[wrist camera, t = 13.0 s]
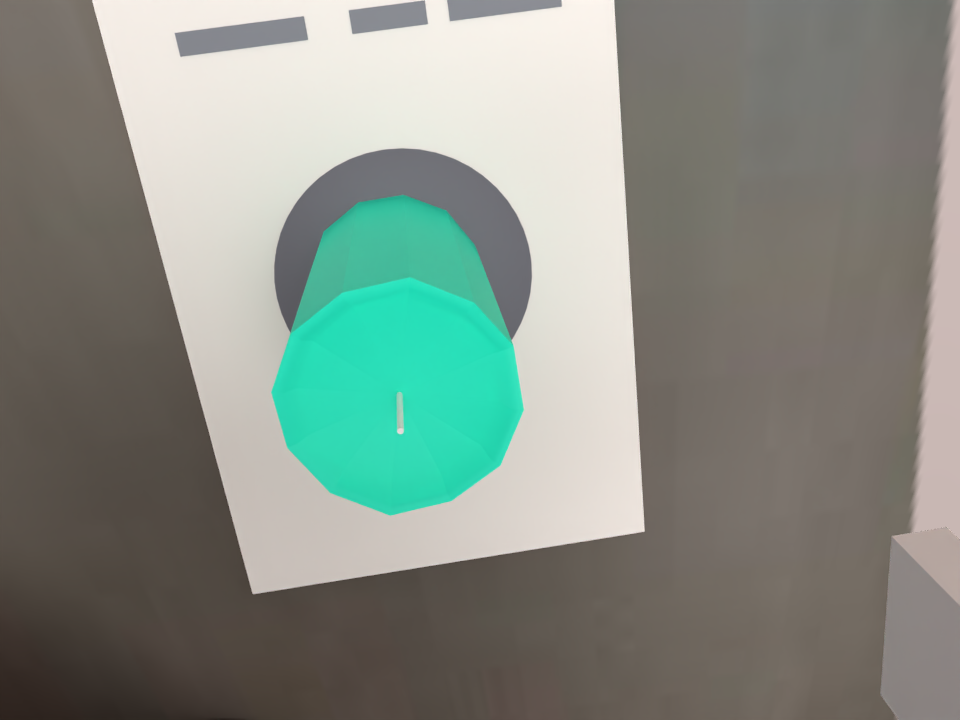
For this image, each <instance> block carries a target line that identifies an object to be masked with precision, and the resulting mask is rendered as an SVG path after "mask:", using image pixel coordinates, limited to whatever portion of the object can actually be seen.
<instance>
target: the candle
mask: <svg viewBox="0 0 960 720" xmlns="http://www.w3.org/2000/svg"><path fill="white" fill-rule="evenodd" d="M271 394H272V397H273V401H274V404H275V407H276V411H277V414H278V418H279V421H280V425H281V428H282V432H283V435H284V439H285V442H286V446H287V448H288V449H289V450H290V451H291V452H292V454H293V455H294V456H295V457H296V458H297V459H298V460H299V461H300V462H301V463H302V464H303V465H304V466H305V467H306V468H307V469H308V470H309V471H310V472H311V473H312V474H313V476H314V477H315V478H316V479H317V480H318V481H319V482H320V483H321V484H322V485H323V486H324V487H325V488H326V489H327V490H328V491H329V492H330V493H331V494H334V495H336V496H339V497H342V498H344V499H347V500H350V501H352V502H355V503H358V504H360V505H363V506H366V507H368V508H371V509H374V510H376V511H379V512H382V513H384V514H387V515H389V516H391V515H396V514H400V513H404V512H408V511H412V510H417V509H421V508H425V507H429V506H433V505H437V504H442V503H446V502H450V501H452V500H454V499H455V498H457V497H458V496H459V495H461V494H462V493H464V492H465V491H466V490H468V489H469V488H470V487H472V486H473V485H475V484H476V483H477V482H479V481H480V480H482V479H483V478H484V477H486V476H487V475H488V474H490V473H491V472H493V471H494V470H495V469H497V468H498V467H499V466H501V463H502V461H503V459H504V456H505V454H506V452H507V449H508V447H509V444H510V442H511V440H512V437H513V435H514V433H515V430H516V428H517V426H518V423H519V421H520V418H521V416H522V414H523V411H524V407H523V401H522V394H521V388H520V382H519V376H518V370H517V364H516V357H515V351H514V346H513V343H512V340H511V338H510V335H509V333H508V330H507V327H506V325H505V322H504V320H503V317H502V314H501V312H500V309H499V307H498V304H497V301H496V299H495V296H494V293H493V291H492V288H491V286H490V283H489V280H488V278H487V275H486V273H485V270H484V267H483V265H482V262H481V260H480V257H479V254H478V252H477V249H476V247H475V244H474V243H473V242H472V241H471V240H470V238H469V237H468V236H467V235H466V234H465V232H464V231H463V230H462V229H461V227H460V226H459V225H458V224H457V223H456V221H455V220H454V219H453V218H452V217H451V215H450V214H449V213H448V212H447V211H446V210H444V209H441V208H438V207H435V206H433V205H430V204H427V203H425V202H422V201H419V200H417V199H414V198H411V197H408V196H406V195H399V196H393V197H387V198H381V199H375V200H369V201H363V202H358V203H357V204H356V205H354V206H353V207H352V208H351V209H350V210H349V211H347V212H346V213H345V214H344V215H343V216H341V217H340V218H339V219H338V220H337V221H335V222H334V223H333V224H332V225H331V226H329V227H328V228H327V229H326V230H325V231H324V232H323V235H322V238H321V241H320V244H319V247H318V250H317V253H316V256H315V259H314V262H313V265H312V268H311V271H310V274H309V277H308V280H307V283H306V286H305V289H304V292H303V295H302V299H301V302H300V305H299V308H298V311H297V314H296V317H295V320H294V323H293V326H292V329H291V333H290V336H289V339H288V342H287V345H286V348H285V351H284V354H283V357H282V360H281V363H280V367H279V370H278V373H277V376H276V379H275V382H274V385H273V388H272V391H271Z"/></svg>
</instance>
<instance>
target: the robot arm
mask: <svg viewBox="0 0 960 720" xmlns="http://www.w3.org/2000/svg"><path fill="white" fill-rule="evenodd" d="M881 696H882V698H883V699H884V700H885V702H886V703H887V704H888V706H889V707H890V708H891V710H892V711H893V713H894V714H895V715H896V717H897V718H898V719H899V720H960V539H959V538H958V537H957V536H955V535H954V534H953V533H952V532H951V531H950V530H949V529H948V528H947V527H946V528H940V529H934V530H927V531H921V532H915V533H908V534H902V535H896V536H892V538H891V552H890V567H889V581H888V595H887V610H886V624H885V638H884V652H883V667H882V681H881Z"/></svg>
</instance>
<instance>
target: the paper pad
mask: <svg viewBox="0 0 960 720" xmlns="http://www.w3.org/2000/svg"><path fill="white" fill-rule="evenodd" d="M92 2H93V5H94V9H95V13H96V16H97V20H98V24H99V28H100V31H101V35H102V39H103V42H104V46H105V50H106V53H107V57H108V61H109V65H110V68H111V72H112V76H113V79H114V83H115V87H116V90H117V94H118V98H119V102H120V105H121V109H122V113H123V116H124V120H125V124H126V127H127V131H128V135H129V139H130V142H131V146H132V150H133V153H134V157H135V161H136V164H137V168H138V172H139V176H140V179H141V183H142V187H143V190H144V194H145V198H146V201H147V205H148V209H149V213H150V216H151V220H152V224H153V227H154V231H155V235H156V238H157V242H158V246H159V250H160V253H161V257H162V261H163V264H164V268H165V272H166V275H167V279H168V283H169V287H170V290H171V294H172V298H173V301H174V305H175V309H176V312H177V316H178V320H179V324H180V327H181V331H182V335H183V338H184V342H185V346H186V349H187V353H188V357H189V360H190V364H191V368H192V372H193V375H194V379H195V383H196V386H197V390H198V394H199V397H200V401H201V405H202V409H203V412H204V416H205V420H206V423H207V427H208V431H209V434H210V438H211V442H212V446H213V449H214V453H215V457H216V460H217V464H218V468H219V471H220V475H221V479H222V483H223V486H224V490H225V494H226V497H227V501H228V505H229V508H230V512H231V516H232V520H233V523H234V527H235V531H236V534H237V538H238V542H239V545H240V549H241V553H242V557H243V560H244V564H245V568H246V571H247V575H248V579H249V582H250V586H251V590H252V594H257V593H264V592H270V591H276V590H282V589H289V588H295V587H301V586H307V585H314V584H320V583H326V582H332V581H339V580H345V579H351V578H357V577H364V576H370V575H376V574H382V573H389V572H395V571H401V570H407V569H414V568H420V567H426V566H432V565H439V564H445V563H451V562H457V561H464V560H470V559H476V558H483V557H489V556H495V555H501V554H508V553H514V552H520V551H526V550H533V549H539V548H545V547H551V546H558V545H564V544H570V543H576V542H583V541H589V540H595V539H601V538H608V537H614V536H620V535H626V534H633V533H639V532H645V530H644V512H643V495H642V478H641V460H640V443H639V426H638V408H637V391H636V374H635V356H634V339H633V322H632V304H631V287H630V270H629V252H628V235H627V218H626V200H625V183H624V166H623V148H622V131H621V114H620V96H619V79H618V62H617V44H616V27H615V10H614V0H92ZM399 195H406V196H408V197H411V198H414V199H417V200H419V201H422V202H425V203H427V204H430V205H433V206H435V207H438V208H441V209H444V210H446V211H447V212H448V213H449V214H450V215H451V217H452V218H453V219H454V220H455V221H456V223H457V224H458V225H459V226H460V227H461V229H462V230H463V231H464V232H465V234H466V235H467V236H468V237H469V238H470V240H471V241H472V242H473V243H474V244H475V247H476V249H477V252H478V254H479V257H480V260H481V262H482V265H483V267H484V270H485V273H486V275H487V278H488V280H489V283H490V286H491V288H492V291H493V293H494V296H495V299H496V301H497V304H498V307H499V309H500V312H501V314H502V317H503V320H504V322H505V325H506V327H507V330H508V333H509V335H510V338H511V340H512V343H513V346H514V351H515V357H516V364H517V370H518V376H519V382H520V388H521V394H522V401H523V407H524V411H523V414H522V416H521V418H520V421H519V423H518V426H517V428H516V430H515V433H514V435H513V437H512V440H511V442H510V444H509V447H508V449H507V452H506V454H505V456H504V459H503V461H502V463H501V466H499V467H498V468H497V469H495V470H494V471H493V472H491V473H490V474H488V475H487V476H486V477H484V478H483V479H482V480H480V481H479V482H477V483H476V484H475V485H473V486H472V487H470V488H469V489H468V490H466V491H465V492H464V493H462V494H461V495H459V496H458V497H457V498H455V499H454V500H452V501H450V502H446V503H442V504H437V505H433V506H429V507H425V508H421V509H417V510H412V511H408V512H404V513H400V514H396V515H391V516H389V515H387V514H384V513H382V512H379V511H376V510H374V509H371V508H368V507H366V506H363V505H360V504H358V503H355V502H352V501H350V500H347V499H344V498H342V497H339V496H336V495H334V494H331V493H330V492H329V491H328V490H327V489H326V488H325V487H324V486H323V485H322V484H321V483H320V482H319V481H318V480H317V479H316V478H315V477H314V476H313V474H312V473H311V472H310V471H309V470H308V469H307V468H306V467H305V466H304V465H303V464H302V463H301V462H300V461H299V460H298V459H297V458H296V457H295V456H294V455H293V454H292V452H291V451H290V450H289V449H288V448H287V446H286V442H285V439H284V435H283V432H282V428H281V425H280V421H279V418H278V414H277V411H276V407H275V404H274V401H273V397H272V394H271V391H272V388H273V385H274V382H275V379H276V376H277V373H278V370H279V367H280V363H281V360H282V357H283V354H284V351H285V348H286V345H287V342H288V339H289V336H290V333H291V329H292V326H293V323H294V320H295V317H296V314H297V311H298V308H299V305H300V302H301V299H302V295H303V292H304V289H305V286H306V283H307V280H308V277H309V274H310V271H311V268H312V265H313V262H314V259H315V256H316V253H317V250H318V247H319V244H320V241H321V238H322V235H323V232H324V231H325V230H326V229H327V228H328V227H329V226H331V225H332V224H333V223H334V222H335V221H337V220H338V219H339V218H340V217H341V216H343V215H344V214H345V213H346V212H347V211H349V210H350V209H351V208H352V207H353V206H354V205H356V204H357V203H358V202H363V201H369V200H375V199H381V198H387V197H393V196H399Z"/></svg>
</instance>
